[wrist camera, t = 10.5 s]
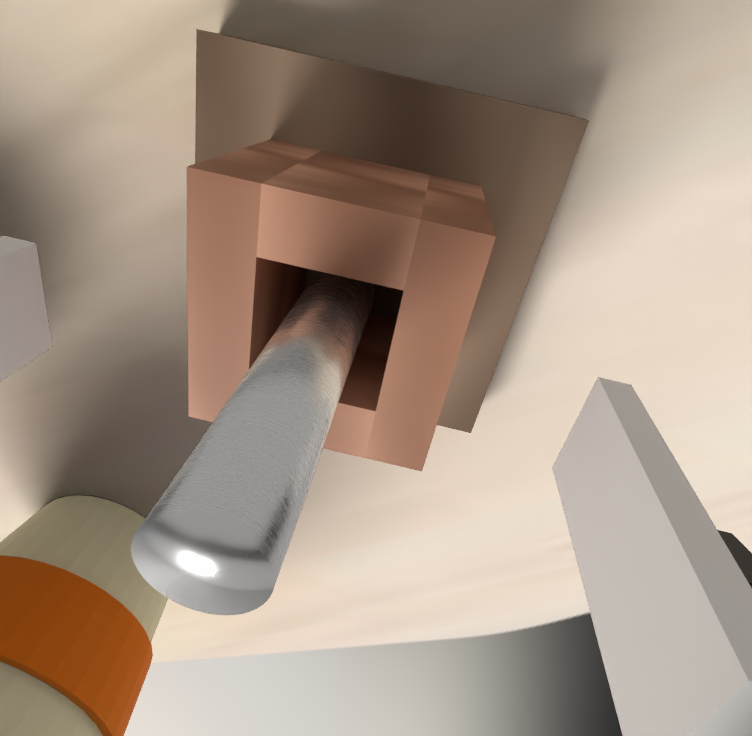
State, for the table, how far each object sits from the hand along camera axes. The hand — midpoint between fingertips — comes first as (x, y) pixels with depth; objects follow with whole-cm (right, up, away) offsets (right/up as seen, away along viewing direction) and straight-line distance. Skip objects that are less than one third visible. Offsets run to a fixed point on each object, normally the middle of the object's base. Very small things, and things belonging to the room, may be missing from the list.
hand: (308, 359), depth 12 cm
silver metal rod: (+1, +3, +6) cm, 7 cm away
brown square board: (+1, +4, +7) cm, 9 cm away
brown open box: (+1, +3, +6) cm, 7 cm away
